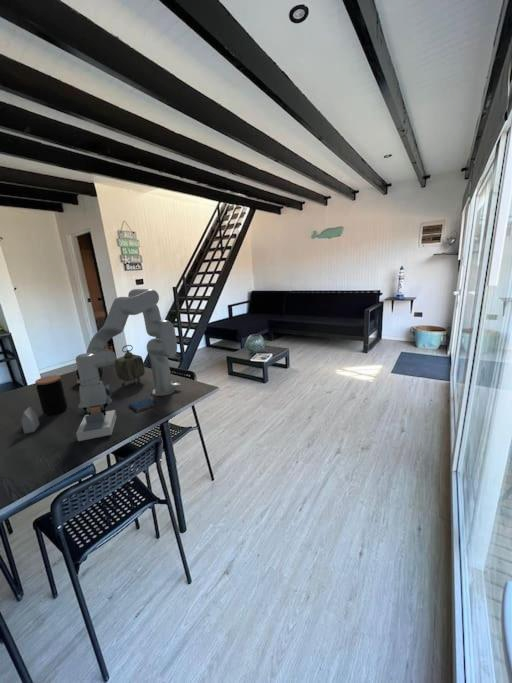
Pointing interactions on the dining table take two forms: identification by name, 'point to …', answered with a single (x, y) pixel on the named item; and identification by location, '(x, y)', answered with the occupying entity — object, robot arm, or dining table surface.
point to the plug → (95, 409)
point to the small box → (107, 389)
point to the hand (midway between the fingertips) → (98, 417)
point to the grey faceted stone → (30, 420)
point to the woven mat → (142, 404)
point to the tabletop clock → (129, 367)
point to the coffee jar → (51, 395)
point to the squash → (98, 371)
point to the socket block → (104, 431)
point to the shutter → (94, 422)
